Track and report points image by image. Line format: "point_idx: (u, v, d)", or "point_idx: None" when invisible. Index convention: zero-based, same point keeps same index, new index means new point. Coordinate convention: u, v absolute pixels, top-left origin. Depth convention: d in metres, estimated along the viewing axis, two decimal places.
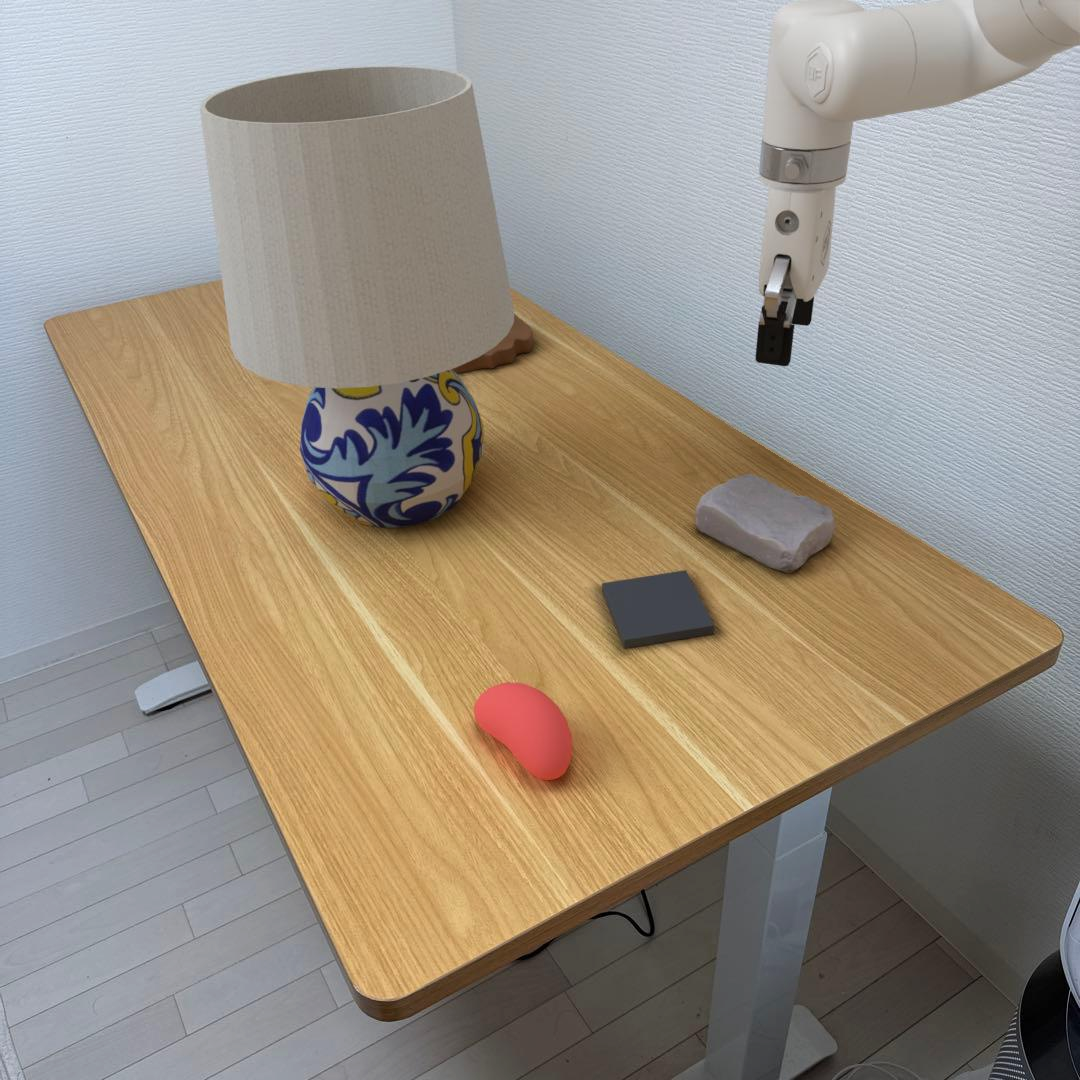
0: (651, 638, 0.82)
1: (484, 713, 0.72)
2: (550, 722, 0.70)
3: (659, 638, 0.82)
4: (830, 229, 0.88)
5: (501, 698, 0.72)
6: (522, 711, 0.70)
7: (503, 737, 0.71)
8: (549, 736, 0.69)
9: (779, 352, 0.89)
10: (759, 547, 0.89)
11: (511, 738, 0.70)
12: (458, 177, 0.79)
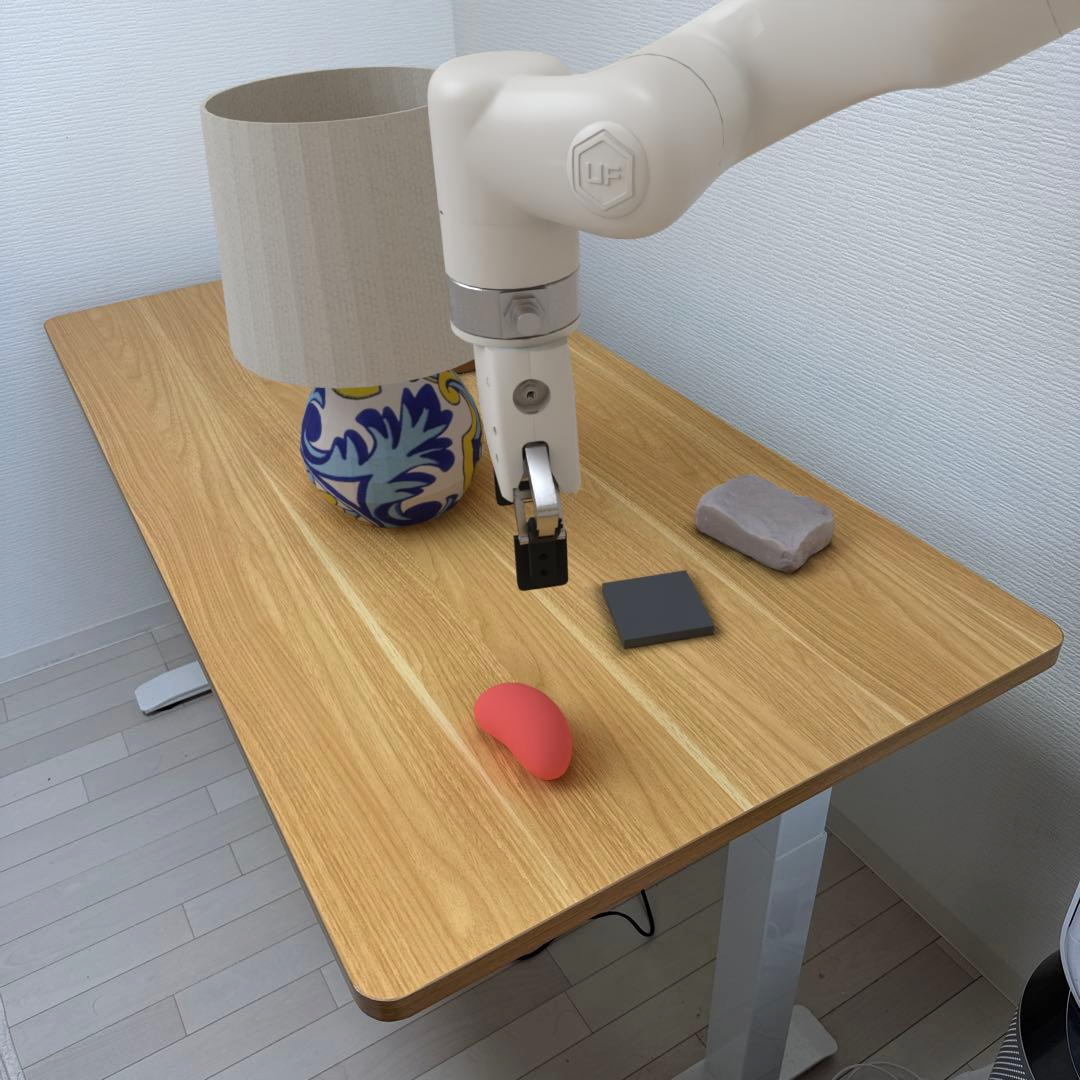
0: (651, 638, 0.82)
1: (484, 713, 0.72)
2: (550, 722, 0.70)
3: (659, 638, 0.82)
4: None
5: (502, 698, 0.72)
6: (522, 711, 0.70)
7: (503, 737, 0.71)
8: (549, 736, 0.69)
9: (555, 572, 0.59)
10: (759, 547, 0.89)
11: (511, 738, 0.70)
12: None
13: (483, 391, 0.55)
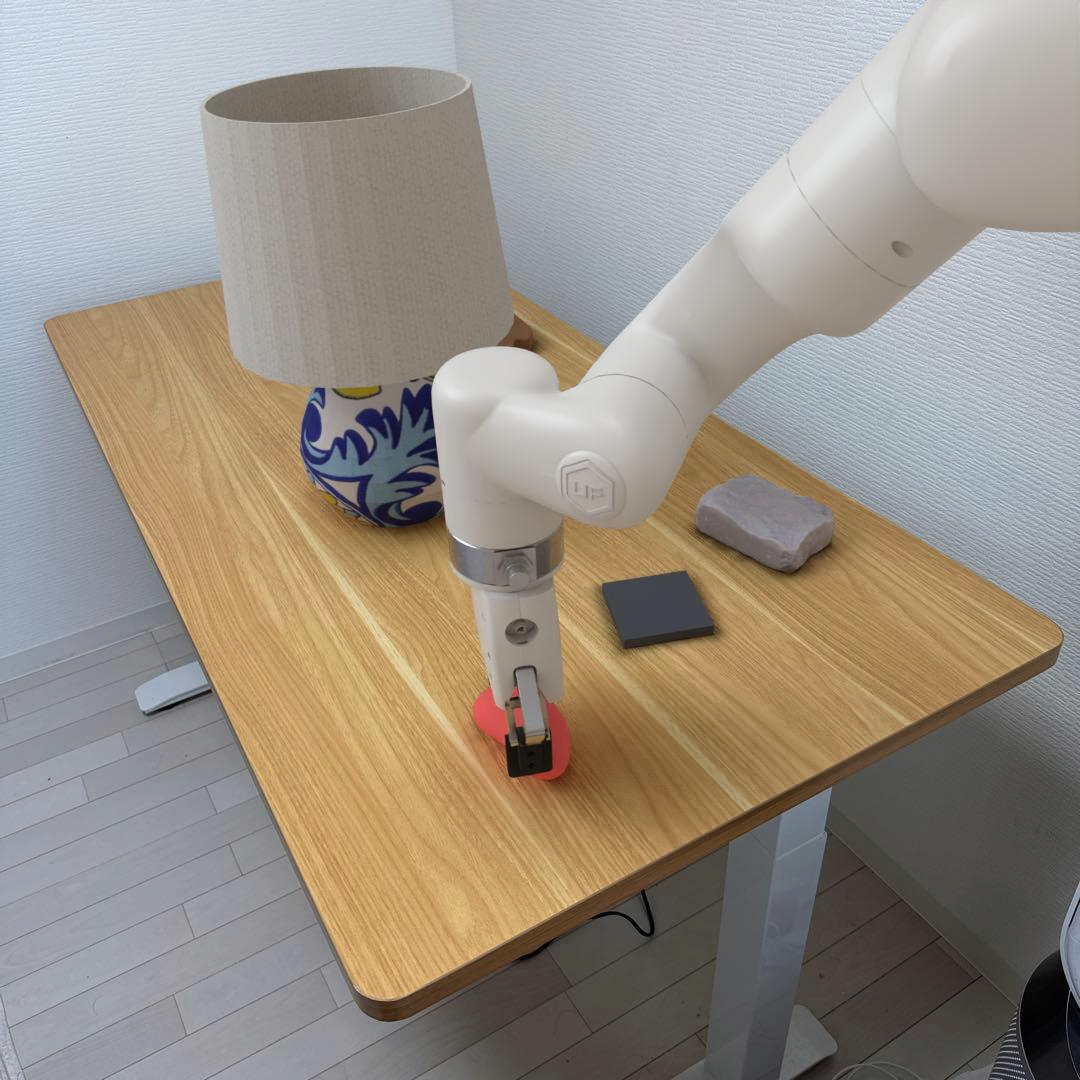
0: (651, 638, 0.82)
1: (483, 713, 0.72)
2: (549, 722, 0.70)
3: (659, 638, 0.82)
4: None
5: None
6: None
7: (501, 736, 0.71)
8: None
9: (541, 764, 0.67)
10: (759, 547, 0.89)
11: None
12: (458, 177, 0.79)
13: (478, 618, 0.63)
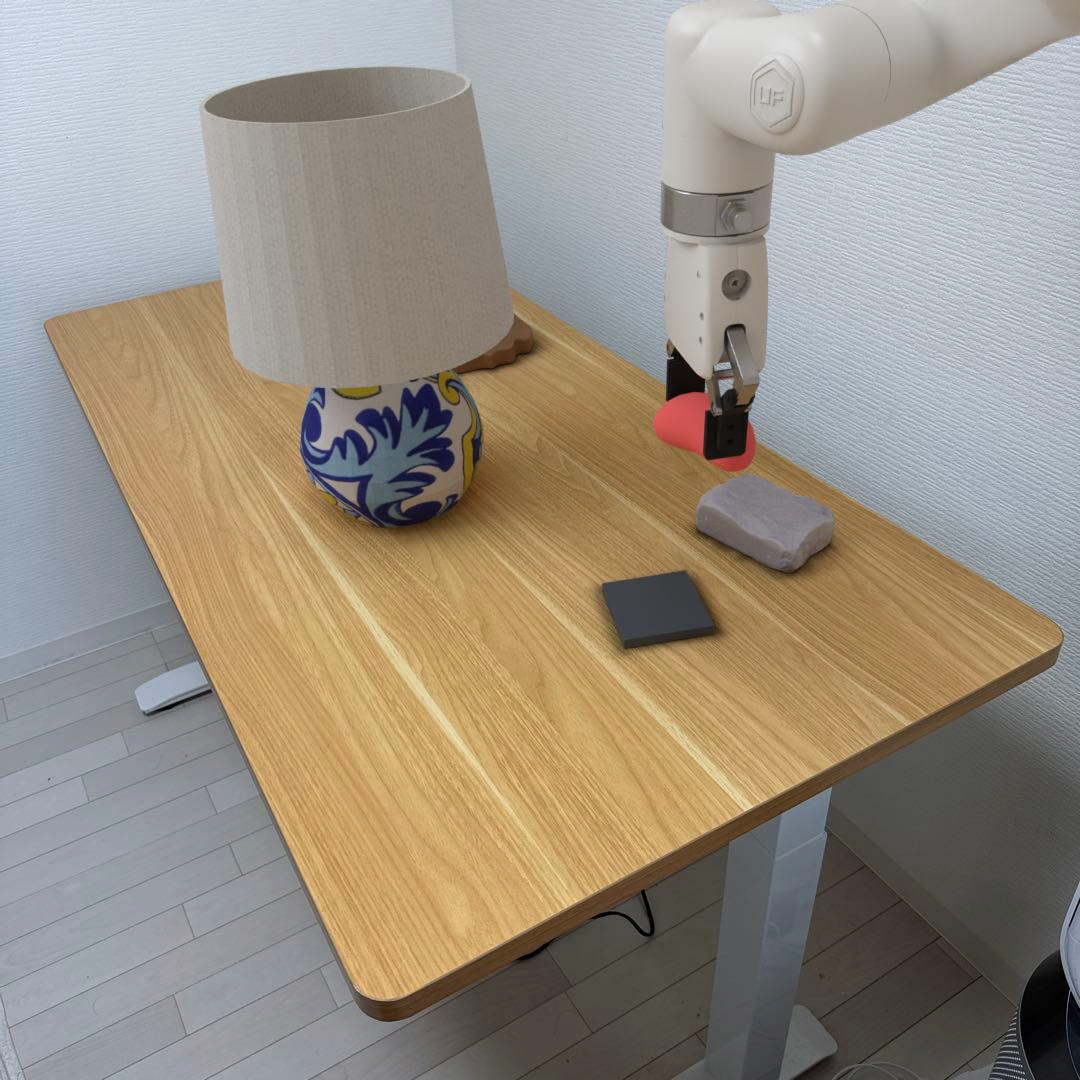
0: (651, 638, 0.82)
1: (668, 417, 0.77)
2: None
3: (659, 638, 0.82)
4: None
5: (686, 401, 0.76)
6: (709, 407, 0.74)
7: (689, 435, 0.75)
8: None
9: (739, 441, 0.71)
10: (759, 547, 0.89)
11: (699, 433, 0.74)
12: (457, 177, 0.79)
13: (689, 285, 0.67)
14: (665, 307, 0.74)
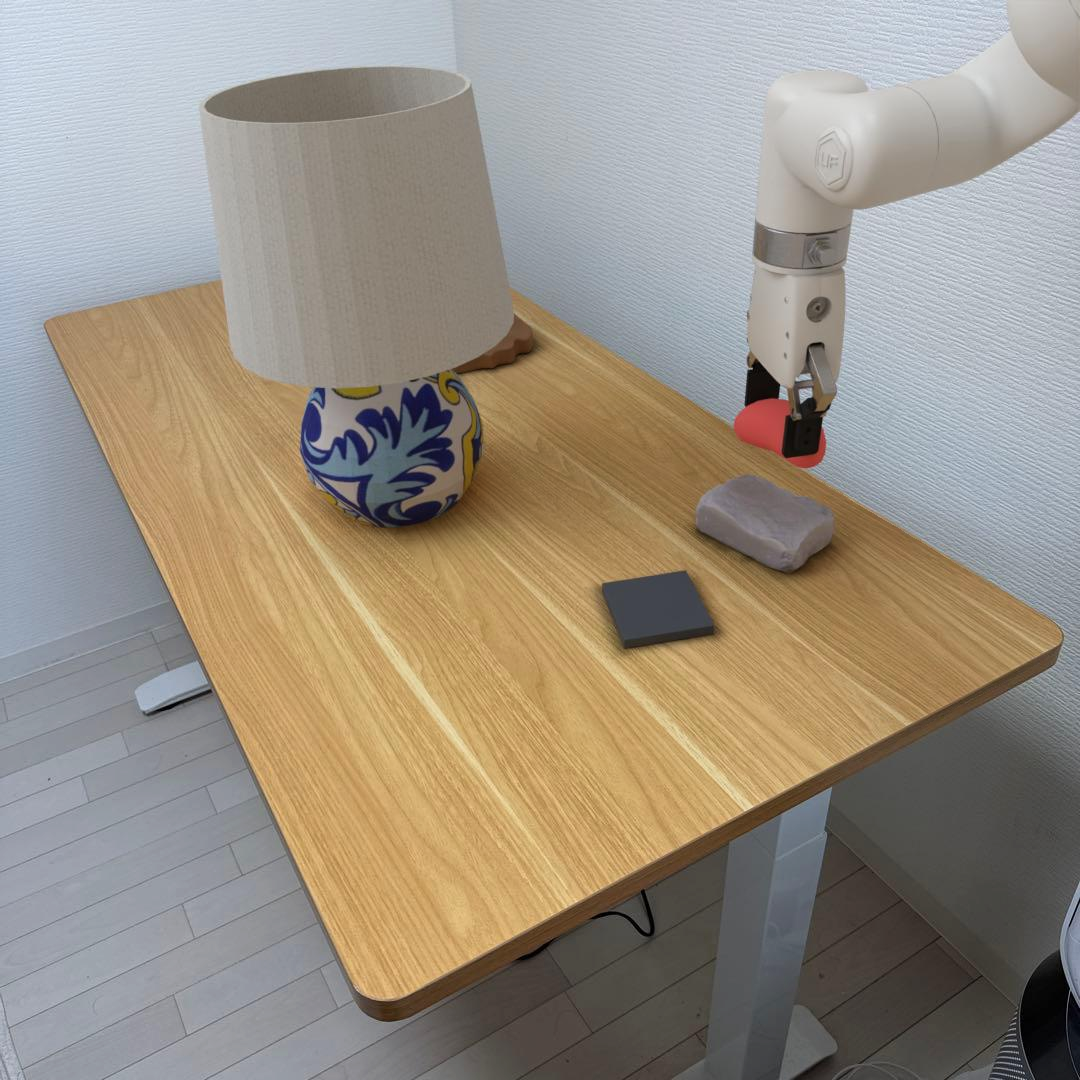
0: (651, 638, 0.82)
1: (748, 420, 0.88)
2: None
3: (659, 638, 0.82)
4: None
5: (764, 406, 0.87)
6: (786, 412, 0.86)
7: (767, 435, 0.87)
8: None
9: (814, 442, 0.83)
10: (759, 547, 0.89)
11: (777, 434, 0.86)
12: (457, 177, 0.79)
13: (776, 308, 0.78)
14: (749, 325, 0.86)
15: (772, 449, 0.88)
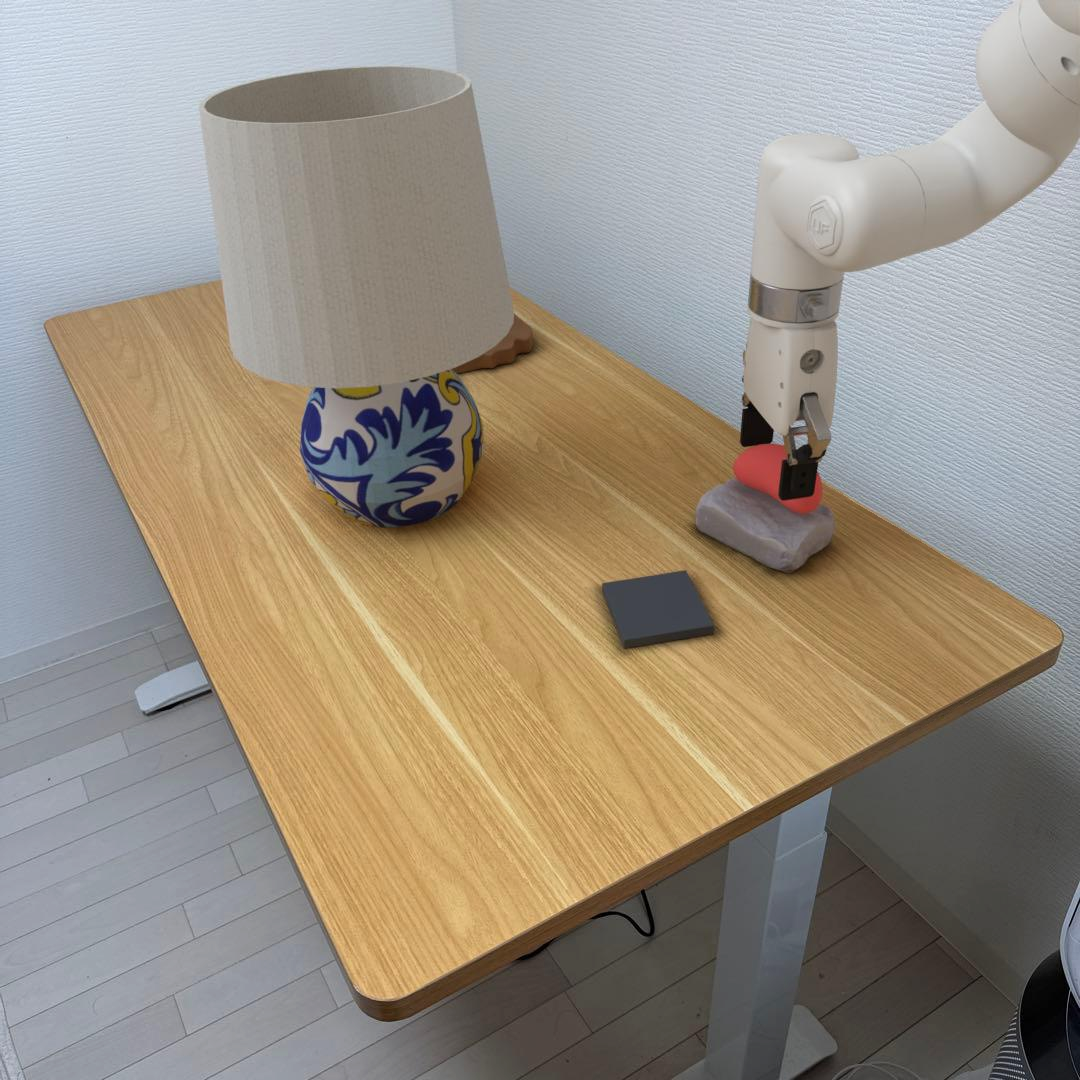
0: (651, 638, 0.82)
1: (749, 462, 0.91)
2: None
3: (659, 638, 0.82)
4: None
5: (766, 450, 0.90)
6: (786, 457, 0.89)
7: (767, 479, 0.90)
8: None
9: (809, 485, 0.85)
10: (759, 547, 0.89)
11: (777, 478, 0.89)
12: (457, 177, 0.79)
13: (771, 359, 0.81)
14: (745, 371, 0.88)
15: (770, 492, 0.90)
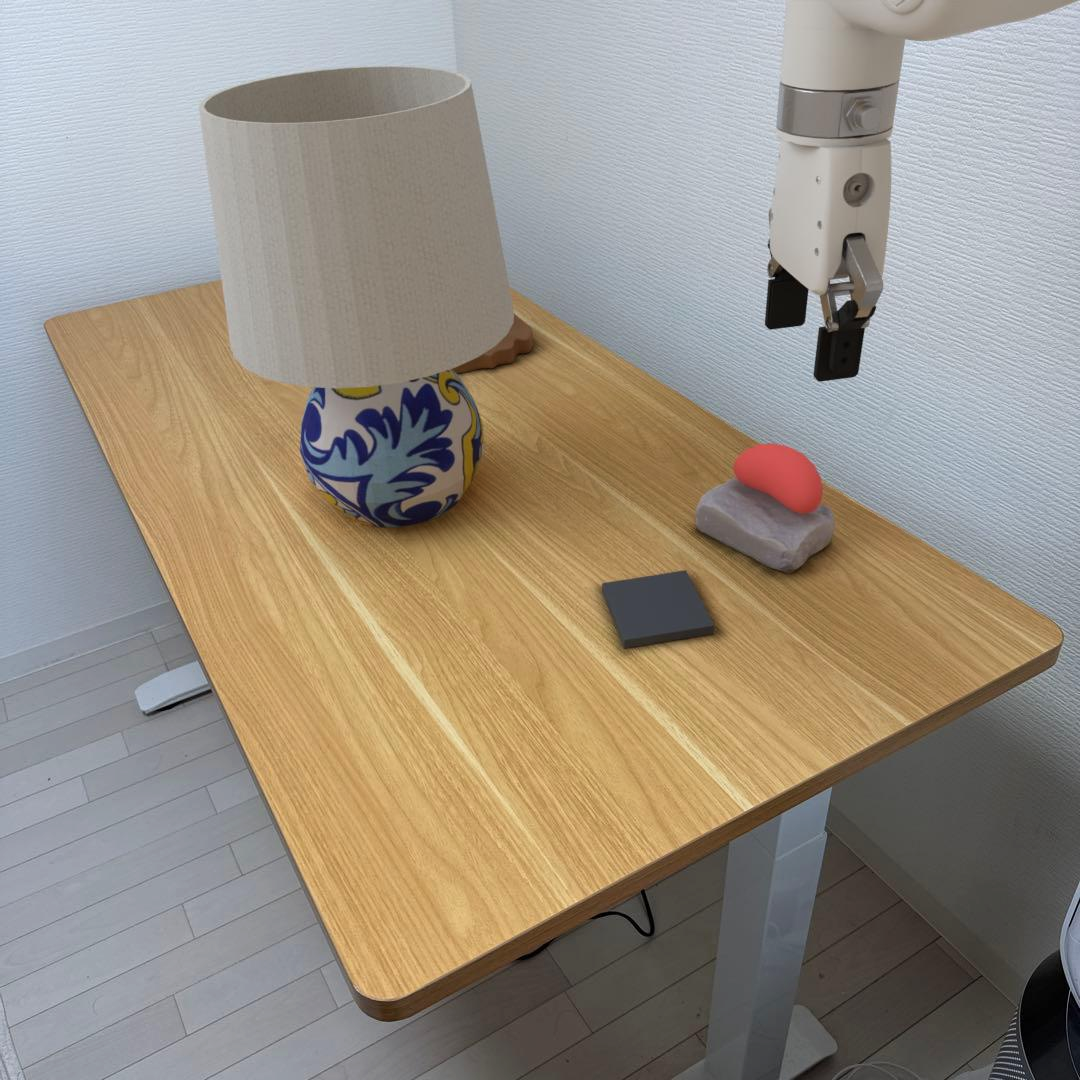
0: (651, 638, 0.82)
1: (749, 462, 0.91)
2: (809, 466, 0.88)
3: (659, 638, 0.82)
4: None
5: (766, 450, 0.90)
6: (787, 457, 0.89)
7: (767, 479, 0.90)
8: (810, 475, 0.88)
9: (853, 360, 0.68)
10: (759, 547, 0.89)
11: (777, 478, 0.89)
12: (457, 177, 0.79)
13: (805, 193, 0.64)
14: (772, 226, 0.71)
15: (770, 492, 0.90)
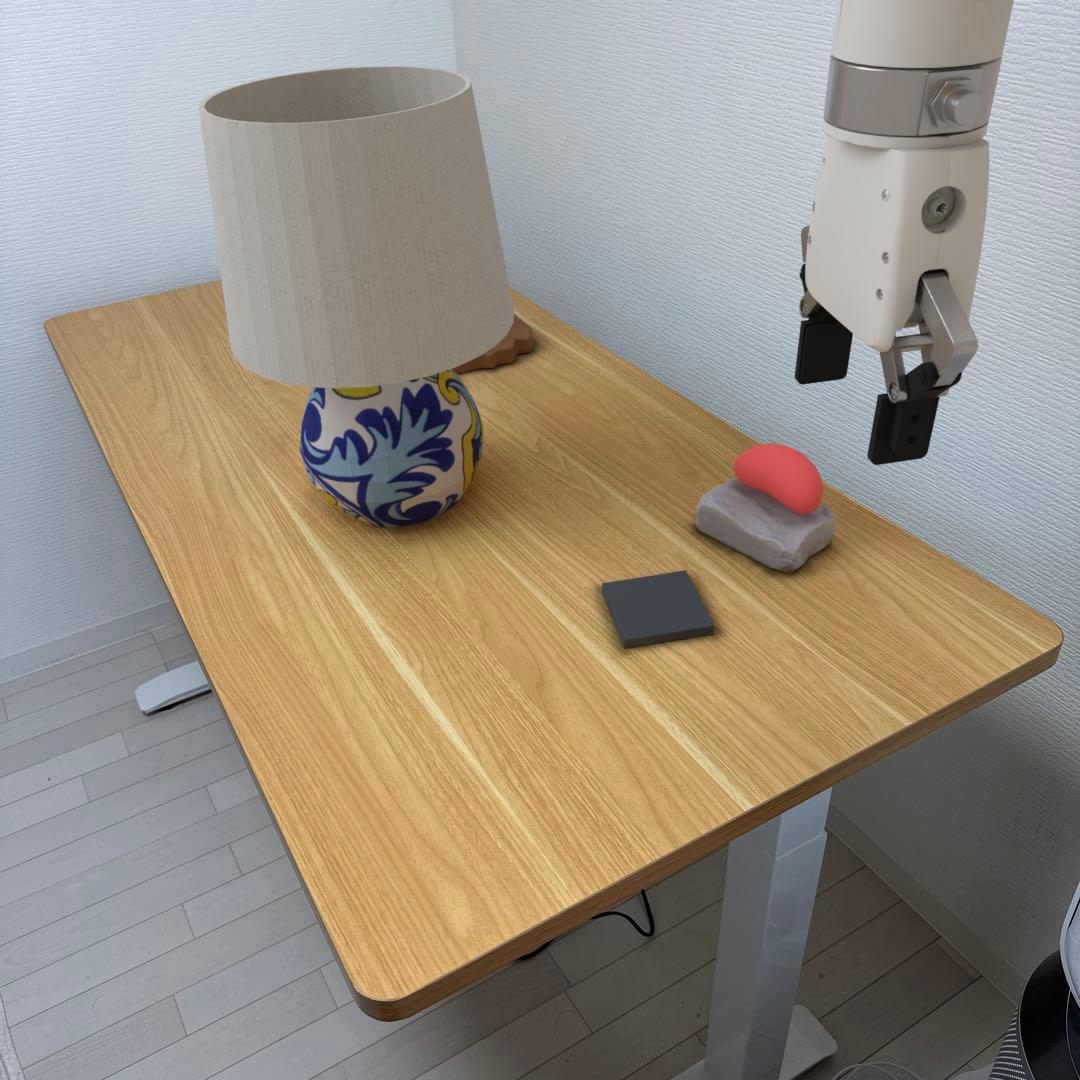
0: (651, 638, 0.82)
1: (750, 462, 0.91)
2: (810, 466, 0.88)
3: (659, 638, 0.82)
4: None
5: (766, 450, 0.90)
6: (787, 457, 0.89)
7: (767, 479, 0.90)
8: (810, 475, 0.88)
9: (923, 439, 0.50)
10: (759, 547, 0.89)
11: (777, 478, 0.89)
12: (457, 177, 0.79)
13: (865, 213, 0.46)
14: (810, 252, 0.53)
15: (770, 492, 0.90)
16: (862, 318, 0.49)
